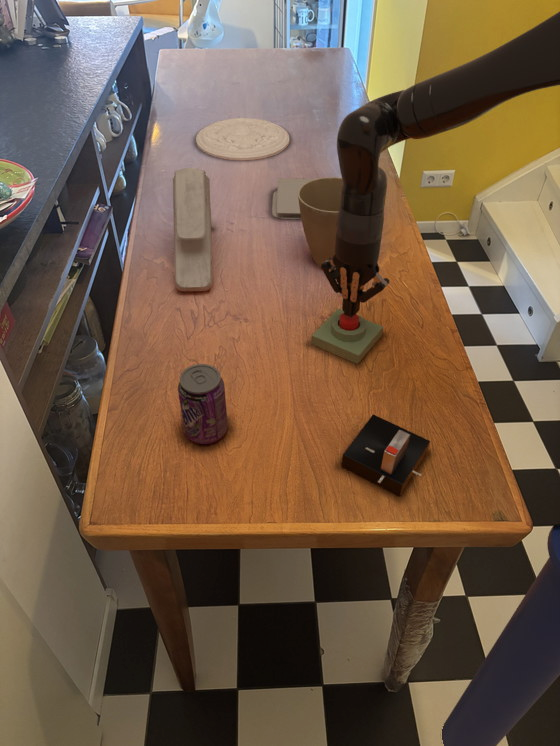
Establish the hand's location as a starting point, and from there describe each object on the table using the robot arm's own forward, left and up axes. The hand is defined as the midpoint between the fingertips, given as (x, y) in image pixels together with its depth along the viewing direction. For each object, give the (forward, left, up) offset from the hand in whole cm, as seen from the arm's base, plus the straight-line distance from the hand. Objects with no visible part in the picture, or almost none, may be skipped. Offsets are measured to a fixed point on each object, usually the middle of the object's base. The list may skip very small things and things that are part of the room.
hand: (350, 313), depth 111 cm
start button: (0, 0, -3) cm, 3 cm away
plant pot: (+17, -22, -7) cm, 29 cm away
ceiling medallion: (+71, -63, -7) cm, 95 cm away
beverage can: (+8, +33, -7) cm, 34 cm away
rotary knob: (-21, +24, -3) cm, 32 cm away
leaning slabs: (+42, -7, -7) cm, 43 cm away
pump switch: (0, 0, -6) cm, 6 cm away
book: (+32, -42, -7) cm, 53 cm away
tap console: (-20, +23, -6) cm, 31 cm away
